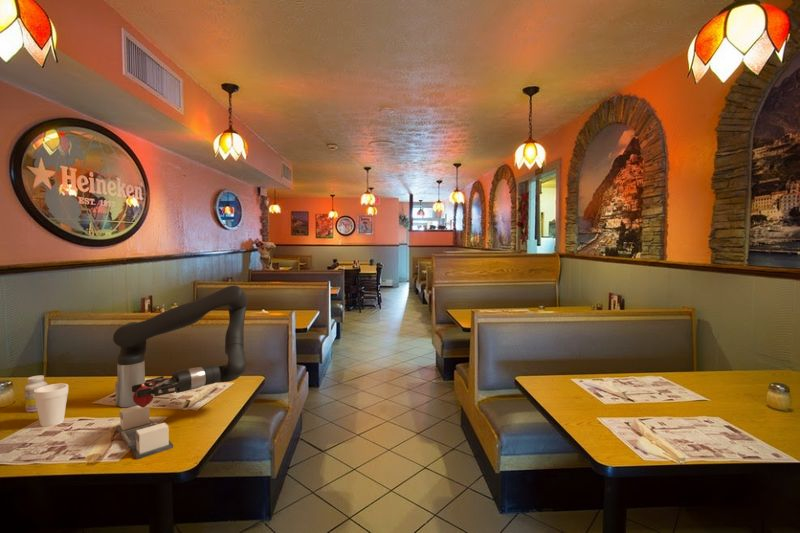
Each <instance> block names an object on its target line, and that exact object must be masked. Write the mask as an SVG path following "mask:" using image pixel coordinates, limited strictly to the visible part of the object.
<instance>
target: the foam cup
mask: <svg viewBox="0 0 800 533" xmlns="http://www.w3.org/2000/svg"><path fill="white" fill-rule="evenodd" d="M68 394H69V384H68V383H52V384H48V385H46V386H42V387H39V388H37V389H35V390H34V398H35V401H36V406H37V411H36V412H37V414H38V419H39V423H40V427H43V428H44V427H45V428H46V427H47V428H48V427H49V428H50V427H53V426H58V425H60V424H62V423H64V420H65V414H66V406H67V400H68Z"/></svg>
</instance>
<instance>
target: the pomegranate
mask: <svg viewBox="0 0 800 533" xmlns="http://www.w3.org/2000/svg"><path fill="white" fill-rule="evenodd" d="M146 388H149V387H147V386H145V385H144V384H142V385H141V387H140V388H139V389H137V391H138V390H142V389H146ZM150 389H151V388H150ZM137 391H136V392H137ZM136 392H135V393H134V395H133V401H134V402H135V404H136V406H140V407H145V406H147V405H148V406H149V404H151V402H152V401H153V399H154V397H155V396H154V395H151V394H150V395H147V396H143V397H137V395H136Z"/></svg>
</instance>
